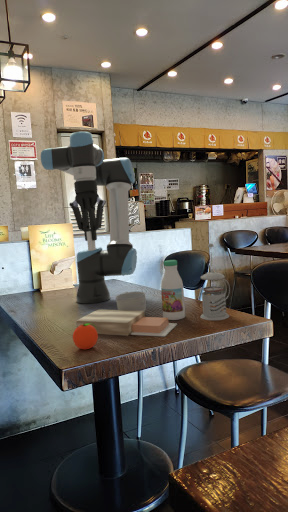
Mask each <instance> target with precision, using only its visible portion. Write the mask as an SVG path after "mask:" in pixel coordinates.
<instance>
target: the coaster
mask: <svg viewBox="0 0 288 512" xmlns="http://www.w3.org/2000/svg"><path fill="white" fill-rule="evenodd" d="M169 321H170V320H168V318H163V317H161V316H160V317H158V316H157V317H154V316H145V317H142V318H140V319H139V320H138V321H136V322H135V323H134V324H132V332H147V333H160V332H161V331H162V330H163V329H164V328H166V327H167V326H168V325H169V323H170V322H169Z"/></svg>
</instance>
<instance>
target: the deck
mask: <svg viewBox="0 0 288 512" xmlns="http://www.w3.org/2000/svg"><path fill="white" fill-rule="evenodd" d="M145 311H146V310H145ZM145 311H130V310H118V309H96V310H95V311H92V312H91V313H88V314H86V315H85V316H82V317H81V318H79V319H77V320H76V322H75V323H76V328H77V327H78V326H80V325H83V324H87V323H90V324H89V325H91V326H93V327H94V328H95V329H96V331H97V334H98V335H110V336H113V335H114V336H130V335H131V333H132V324H134V323H135V322H136V321H138V320H139V319H140V318H142V317H146V315H145ZM93 324H94V325H95V326H96V327H95V326H94V325H93Z"/></svg>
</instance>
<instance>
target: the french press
mask: <svg viewBox="0 0 288 512" xmlns="http://www.w3.org/2000/svg"><path fill="white" fill-rule="evenodd" d="M207 248H214V244H213V243H211V242H210V243H208V244H207ZM212 254H213V253H210V261H211V262H210V263H211V265H213V259H212V257H213V256H212ZM225 277H226V276H225V275H224V274H223V273H220V272H216V271H213V270H211V271H210V272H205V274H202V275H201V276H200V279H201V280H204V281H212V282H214V281H217V280H219V281H218V282H219V283H220V284H224V285H225V287H224V286H217V285H216V286H214V285H212V286H206V287H205V286H204V287H203V288H202V290H203V292H201V300H202V314H201V315H200V316H199V317H200V318H201V319H202V320H205V321H222V320H226V319H229V317H230V315H229V314H228V313H227V304H226V300H227V299H228V298H229V296H230V293H231V287H230V283H229V282H228V280H227V279H225ZM221 280H222V281H221ZM226 283H227V284H226ZM227 285H228V290H227ZM224 289H225V291H224ZM227 291H228V295H227V294H226V293H227ZM226 295H227V296H226Z"/></svg>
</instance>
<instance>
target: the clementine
mask: <svg viewBox="0 0 288 512" xmlns="http://www.w3.org/2000/svg"><path fill="white" fill-rule="evenodd" d="M89 324H90V323H87V324H83V325H80V326H78V327H77V326H76V328H75V329H74V331H73V334H72V341H73V343H74V346H76V347H77V348H79V349H81V350H88V349H92V348H93V347H94V346H95V345H96V344H97V341H98V339H99V334H97V331H96V329H95V328H94V327H93V326H91V325H89ZM93 325H94V324H93ZM94 326H95V325H94ZM95 327H96V326H95Z"/></svg>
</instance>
